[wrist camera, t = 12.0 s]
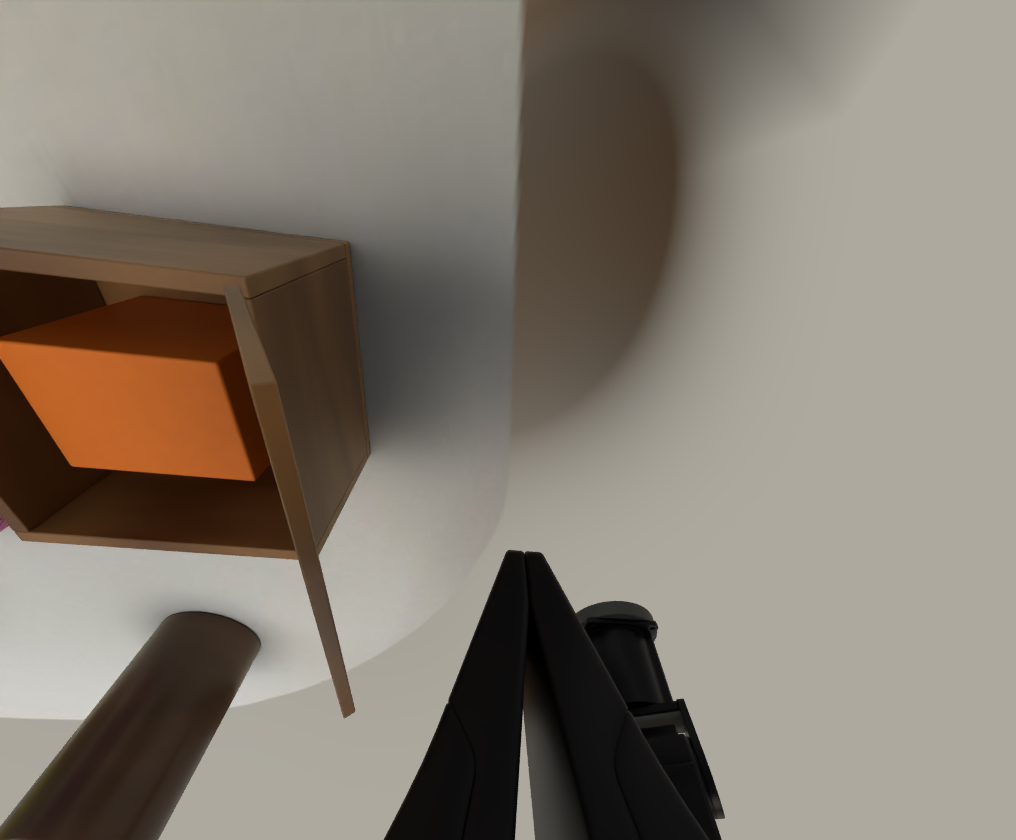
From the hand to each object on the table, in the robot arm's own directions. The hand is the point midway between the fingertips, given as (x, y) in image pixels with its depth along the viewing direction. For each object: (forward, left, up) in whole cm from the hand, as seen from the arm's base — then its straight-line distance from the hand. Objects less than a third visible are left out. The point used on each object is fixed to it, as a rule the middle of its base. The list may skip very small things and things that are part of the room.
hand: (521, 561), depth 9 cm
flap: (+5, 0, -1) cm, 6 cm away
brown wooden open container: (+12, 0, -10) cm, 15 cm away
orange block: (+12, 0, -9) cm, 15 cm away
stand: (+20, +24, -10) cm, 33 cm away
